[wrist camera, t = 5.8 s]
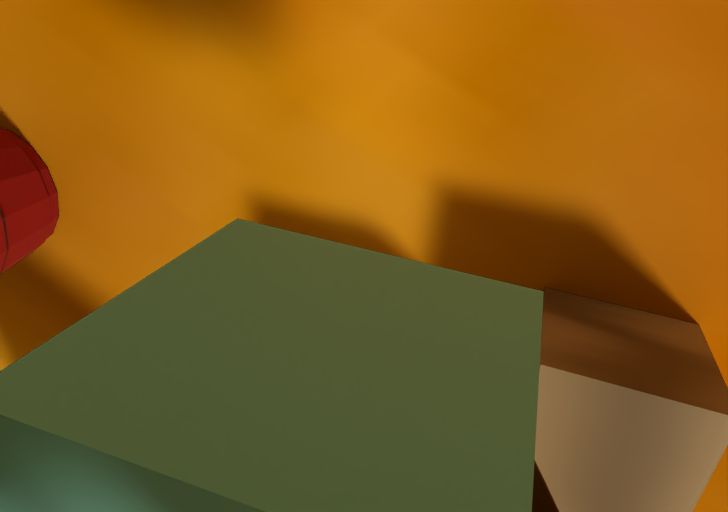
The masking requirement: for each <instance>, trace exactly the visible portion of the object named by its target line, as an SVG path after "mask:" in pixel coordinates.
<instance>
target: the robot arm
mask: <svg viewBox="0 0 728 512" xmlns="http://www.w3.org/2000/svg"><path fill="white" fill-rule="evenodd" d="M532 512H559V510H558V507H557V505H556V503H555V501H554V499H553V497H552V495H551V493H550V491H549V489H548V486H547V484H546V482H545V480H544V478H543V476H542V474H541V472H540V470H539V468H538V465H537V463H536V461H534V479H533V498H532Z"/></svg>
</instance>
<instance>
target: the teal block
mask: <svg viewBox="0 0 728 512" xmlns="http://www.w3.org/2000/svg"><path fill="white" fill-rule="evenodd" d="M543 294H544V291H540V290H536V289H531V288H527V287H523V286H519V285H515V284H510V283H506V282H502V281H498V280H494V279H489V278H485V277H481V276H477V275H473V274H468V273H464V272H460V271H456V270H452V269H448V268H443V267H439V266H435V265H431V264H427V263H422V262H418V261H414V260H410V259H406V258H401V257H397V256H393V255H389V254H385V253H380V252H376V251H372V250H368V249H364V248H359V247H355V246H351V245H347V244H343V243H338V242H334V241H330V240H326V239H322V238H317V237H313V236H309V235H305V234H301V233H297V232H292V231H288V230H284V229H280V228H276V227H271V226H267V225H263V224H259V223H255V222H250V221H246V220H242V219H238V218H237V219H236V220H234V221H233V222H231V223H230V224H228V225H226V226H225V227H223V228H222V229H220V230H219V231H217V232H216V233H214V234H212V235H211V236H209V237H208V238H206V239H205V240H203V241H202V242H200V243H198V244H197V245H195V246H194V247H192V248H191V249H189V250H188V251H186V252H185V253H183V254H181V255H180V256H178V257H177V258H175V259H174V260H172V261H171V262H169V263H167V264H166V265H164V266H163V267H161V268H160V269H158V270H157V271H155V272H153V273H152V274H150V275H149V276H147V277H146V278H144V279H143V280H141V281H139V282H138V283H136V284H135V285H133V286H132V287H130V288H129V289H127V290H125V291H124V292H122V293H121V294H119V295H118V296H116V297H115V298H113V299H112V300H110V301H108V302H107V303H105V304H104V305H102V306H101V307H99V308H98V309H96V310H94V311H93V312H91V313H90V314H88V315H87V316H85V317H84V318H82V319H80V320H79V321H77V322H76V323H74V324H73V325H71V326H70V327H68V328H66V329H65V330H63V331H62V332H60V333H59V334H57V335H56V336H54V337H52V338H51V339H49V340H48V341H46V342H45V343H43V344H42V345H40V346H39V347H37V348H35V349H34V350H32V351H31V352H29V353H28V354H26V355H25V356H23V357H21V358H20V359H18V360H17V361H15V362H14V363H12V364H11V365H9V366H7V367H6V368H4V369H3V370H1V371H0V512H532V498H533V479H534V461H535V442H536V424H537V405H538V387H539V368H540V350H541V331H542V313H543Z"/></svg>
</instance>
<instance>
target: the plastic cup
mask: <svg viewBox="0 0 728 512" xmlns="http://www.w3.org/2000/svg"><path fill="white" fill-rule="evenodd" d="M58 217H59V209H58V196H57V191H56V188H55V186H54V183H53V181H52V178H51V176H50V173H49V171H48V168H47V167H46V165H45V164H44V163H43V162H42V160H41V159H40V158H39V156H38V155H37V154H36V152H35V151H34V150H33V148H32V147H31V146H30V145H29V144H27V143H26V142H25V141H23V140H22V139H21V138H19V137H18V136H17V135H15V134H14V133H13V132H11V131H8V130H5V129H2V128H0V275H1V274H2V273H3V272H4V271H6V270H7V269H9V268H10V267H12V266H13V265H15V264H16V263H17V262H19V261H20V260H22V259H23V258H25V257H26V256H28V255H29V254H31V253H32V252H33V251H34V250H35V249H37V248H38V247H39V246H40V245H41V244H43V243H44V242H45V240H46V239H47V238H48V237H49V236H50V235H52V234H53V232H54V229H55V226H56V223H57V220H58Z"/></svg>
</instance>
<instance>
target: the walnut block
mask: <svg viewBox="0 0 728 512" xmlns="http://www.w3.org/2000/svg"><path fill="white" fill-rule="evenodd" d="M727 445H728V388H727V386H726V384H725V382H724V379H723V377H722V375H721V373H720V370H719V368H718V366H717V364H716V361H715V359H714V357H713V355H712V352H711V350H710V348H709V346H708V343H707V341H706V339H705V337H704V335H703V332H702V330H701V328H700V326H699V324H695V323H691V322H687V321H683V320H679V319H674V318H670V317H666V316H662V315H658V314H654V313H649V312H645V311H641V310H637V309H633V308H629V307H625V306H620V305H616V304H612V303H608V302H604V301H600V300H595V299H591V298H587V297H583V296H579V295H575V294H570V293H566V292H562V291H558V290H554V289H550V288H546V287H545V288H544V294H543V313H542V331H541V350H540V368H539V387H538V405H537V424H536V442H535V461H536V463H537V465H538V468H539V470H540V472H541V474H542V476H543V478H544V480H545V482H546V484H547V486H548V489H549V491H550V493H551V495H552V497H553V499H554V501H555V503H556V505H557V507H558V510H559V512H692V511H693V510H694V508H695V506H696V504H697V502H698V500H699V498H700V496H701V494H702V492H703V490H704V489H705V487H706V485H707V483H708V481H709V479H710V477H711V475H712V473H713V471H714V470H715V468H716V466H717V464H718V462H719V460H720V458H721V456H722V454H723V452H724V450H725V449H726V447H727Z"/></svg>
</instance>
